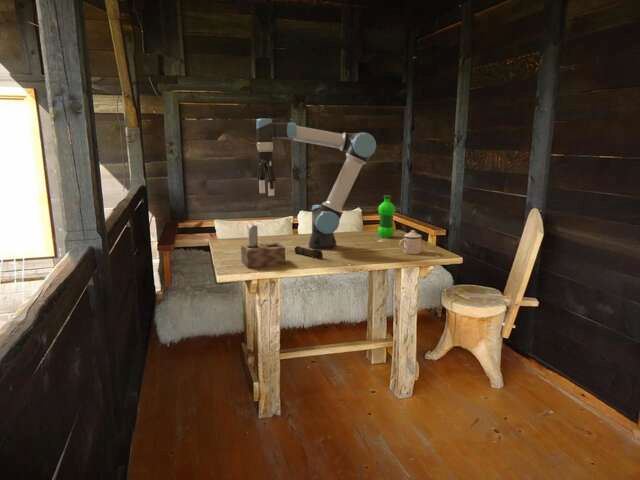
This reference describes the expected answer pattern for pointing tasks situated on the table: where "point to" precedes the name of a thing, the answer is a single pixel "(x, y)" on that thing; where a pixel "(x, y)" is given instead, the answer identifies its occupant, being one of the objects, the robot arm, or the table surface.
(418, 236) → the teacup with lid
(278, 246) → the hole block
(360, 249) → the table surface
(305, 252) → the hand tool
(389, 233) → the plastic bottle
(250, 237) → the peg
